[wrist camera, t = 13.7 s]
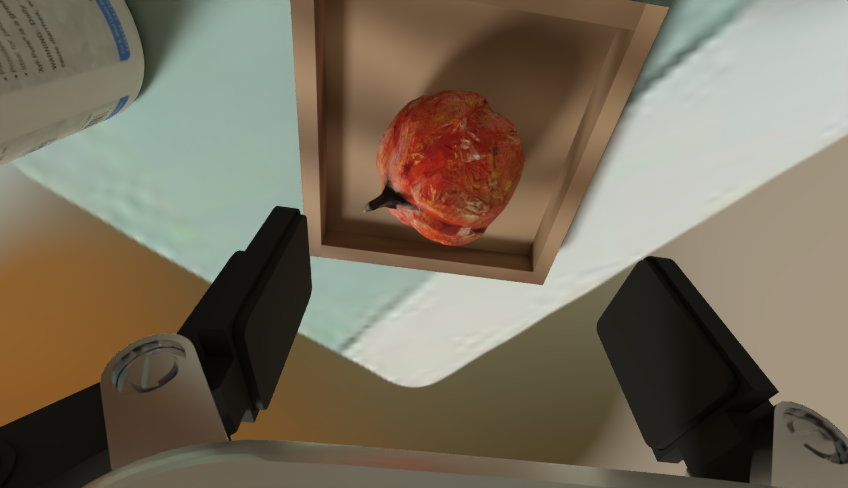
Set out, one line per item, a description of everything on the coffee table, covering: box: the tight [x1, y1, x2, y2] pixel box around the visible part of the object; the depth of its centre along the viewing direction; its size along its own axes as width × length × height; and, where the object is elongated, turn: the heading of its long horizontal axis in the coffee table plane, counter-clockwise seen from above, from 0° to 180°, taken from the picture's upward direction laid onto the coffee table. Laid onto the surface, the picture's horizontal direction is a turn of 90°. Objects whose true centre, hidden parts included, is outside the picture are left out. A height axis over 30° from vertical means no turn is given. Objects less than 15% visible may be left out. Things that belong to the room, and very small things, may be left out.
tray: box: [290, 0, 669, 285], centre depth 20 cm, size 16×16×3 cm
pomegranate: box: [362, 90, 525, 246], centre depth 18 cm, size 7×7×10 cm
